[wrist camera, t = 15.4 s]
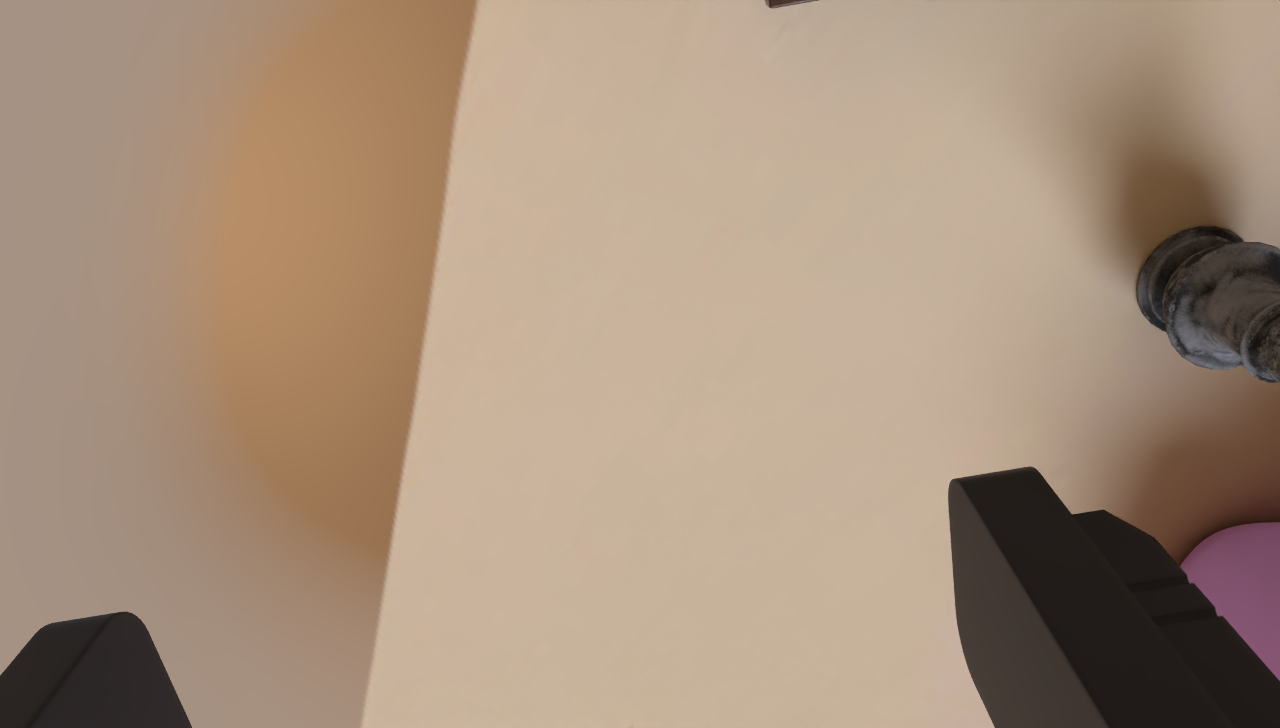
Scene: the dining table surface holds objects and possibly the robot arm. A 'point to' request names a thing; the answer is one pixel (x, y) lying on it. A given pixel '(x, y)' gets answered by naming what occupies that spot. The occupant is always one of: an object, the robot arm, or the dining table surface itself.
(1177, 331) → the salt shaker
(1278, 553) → the teapot
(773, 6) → the chair
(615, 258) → the dining table surface
